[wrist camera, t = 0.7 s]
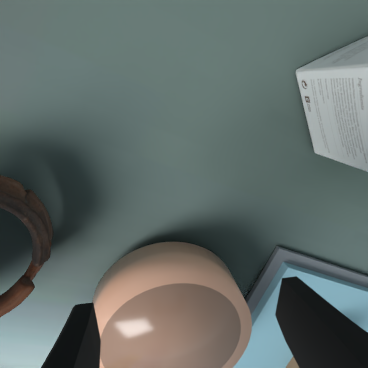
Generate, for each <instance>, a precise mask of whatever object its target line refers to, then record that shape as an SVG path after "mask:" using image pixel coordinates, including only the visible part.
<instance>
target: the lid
mask: <svg viewBox="0 0 368 368" xmlns="http://www.w3.org/2000/svg"><path fill="white" fill-rule="evenodd" d="M295 276H297V277H298V278H299V279H301V280H302V281H303V282H304V283H306V284H307V285H308V286H309V287H310V288H312V289H313V290H314V291H315V292H316V293H318V294H319V295H320V296H321V297H323V298H324V299H325V300H326V301H327V302H329V303H330V304H331V305H332V306H334V307H335V308H336V309H337V310H339V311H340V312H341V313H342V314H344V315H345V316H346V317H348V318H349V319H350V320H351V321H353V322H354V323H355V324H357V325H358V326H359V327H361V328H362V329H363V330H365V331H366V332H368V288H366V287H363V286H360V285H356V284H353V283H350V282H347V281H344V280H340V279H337V278H334V277H331V276H327V275H324V274H321V273H318V272H315V271H311V270H308V269H305V268H302V267H299V266H295V265H292V264H289V263H286V262H283V263H282V264H281V266H280V268H279V269H278V271H277V273H276V274H275V276H274V278H273V279H272V281H271V283H270V284H269V286H268V288H267V289H266V291H265V293H264V294H263V296H262V298H261V300H260V301H259V303H258V305H257V306H256V308H255V310H254V311H253V313H252V315H251V319H252V331H251V336H250V340H249V343H248V345H247V348H246V350H245V352H244V353H243V355H242V357H241V358H240V360H239V361H238V362H237V363H236V365H235V366H234V367H233V368H299V366H298V364H297V362H296V360H295V359H294V357H293V355H292V353H291V351H290V349H289V347H288V345H287V343H286V341H285V339H284V336H283V334H282V331H281V329H280V326H279V324H278V321H277V318H276V316H275V313H276V307H277V302H278V297H279V291H280V286H281V281H282V278H287V277H295Z"/></svg>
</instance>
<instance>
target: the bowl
mask: <svg viewBox="0 0 368 368" xmlns="http://www.w3.org/2000/svg"><path fill="white" fill-rule="evenodd" d="M92 303H94V308H95V313H96V318H97V323H98V328H99V333H100V339H101V349H100V368H233V367H234V366H235V365H236V363H237V362H238V361H239V360H240V358H241V357H242V355H243V353H244V352H245V350H246V348H247V345H248V343H249V340H250V336H251V331H252V319H251V314H250V310H249V307H248V305H247V303H246V301H245V299H244V297H243V295H242V294H241V292H240V290H239V288H238V286H237V284H236V282H235V280H234V278H233V276H232V275H231V273H230V271H229V269H228V267H227V266H226V265H225V263H224V262H223V261H222V260H221V259H220V258H219V257H218V256H217V255H215V254H214V253H213V252H211V251H209V250H207V249H205V248H203V247H201V246H198V245H195V244H190V243H185V242H162V243H155V244H151V245H147V246H144V247H142V248H139V249H136V250H134V251H132V252H130V253H128V254H127V255H125V256H124V257H122V258H121V259H119V260H118V261H117V262H116V263H114V264H113V265H112V266H111V267H110V268H109V269H108V270H107V272H106V273H105V274H104V275H103V277H102V278H101V280H100V281H99V283H98V285H97V287H96V290H95V293H94V296H93V302H92Z"/></svg>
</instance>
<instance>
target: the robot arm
mask: <svg viewBox="0 0 368 368" xmlns="http://www.w3.org/2000/svg"><path fill="white" fill-rule="evenodd" d="M275 316H276V318H277V321H278V324H279V326H280V329H281V331H282V334H283V336H284V339H285V341H286V343H287V345H288V347H289V349H290V351H291V353H292V355H293V357H294V359H295V360H296V362H297V364H298V366H299V368H368V332H366V331H365V330H363V329H362V328H361V327H359V326H358V325H357V324H355V323H354V322H353V321H351V320H350V319H349V318H348V317H346V316H345V315H344V314H342V313H341V312H340V311H339V310H337V309H336V308H335V307H334V306H332V305H331V304H330V303H329V302H327V301H326V300H325V299H324V298H323V297H321V296H320V295H319V294H318V293H316V292H315V291H314V290H313V289H312V288H310V287H309V286H308V285H307V284H306V283H304V282H303V281H302V280H301V279H299V278H298V277H297V276H295V277H287V278H282V281H281V286H280V291H279V297H278V302H277V307H276V313H275ZM100 349H101V339H100V333H99V328H98V323H97V318H96V313H95V308H94V303H86V304H78V305H75V306H74V307H73V309H72V311H71V313H70V315H69V317H68V319H67V321H66V323H65V325H64V327H63V329H62V331H61V333H60V335H59V337H58V339H57V341H56V342H55V344H54V346H53V348H52V350H51V351H50V353H49V355H48V357H47V358H46V360H45V362H44V364H43V365H42V367H41V368H100Z"/></svg>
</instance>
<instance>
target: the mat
mask: <svg viewBox="0 0 368 368" xmlns="http://www.w3.org/2000/svg"><path fill="white" fill-rule="evenodd" d="M283 262H286V263H289V264H292V265H295V266H299V267H302V268H305V269H308V270H311V271H315V272H318V273H321V274H324V275H327V276H331V277H334V278H337V279H340V280H344V281H347V282H350V283H353V284H356V285H360V286H363V287H366V288H368V276H367V275H364V274H361V273H358V272H355V271H352V270H349V269H346V268H343V267H340V266H337V265H334V264H331V263H328V262H325V261H322V260H319V259H316V258H313V257H310V256H307V255H303V254H300V253H297V252H294V251H291V250H288V249H285V248H282V247H279V246H276V248H275V250H274V252H273V253H272V255H271V257H270V258H269V260H268V262H267V264H266V265H265V267H264V269H263V270H262V272H261V274H260V276H259V277H258V279H257V281H256V283H255V284H254V286H253V288H252V289H251V291H250V293H249V295H248V296H247V298H246V300H245V301H246V303H247V305H248V307H249V310H250V314H251V315H252V313H253V311H254V310H255V308H256V306H257V305H258V303H259V301H260V300H261V298H262V296H263V294H264V293H265V291H266V289H267V288H268V286H269V284H270V283H271V281H272V279H273V278H274V276H275V274H276V273H277V271H278V269H279V268H280V266H281V264H282V263H283Z"/></svg>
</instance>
